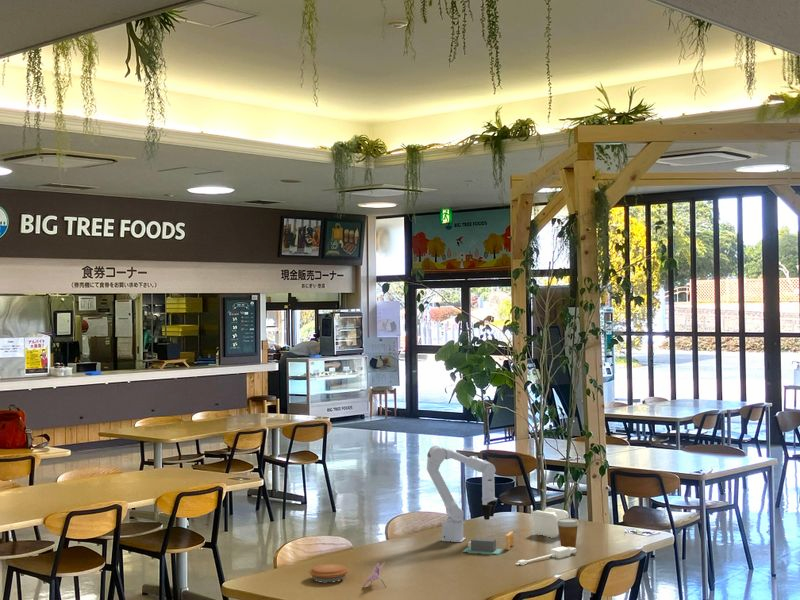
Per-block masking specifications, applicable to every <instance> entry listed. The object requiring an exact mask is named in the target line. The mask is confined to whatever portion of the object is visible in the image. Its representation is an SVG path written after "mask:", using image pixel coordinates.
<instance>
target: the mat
mask: <svg viewBox="0 0 800 600" xmlns="http://www.w3.org/2000/svg"><path fill="white" fill-rule="evenodd" d="M463 552H468V553H467V554H477V553H481V554H480V555H492V554H496V555H495V556H499V555H500V554H501V553H502V552H504V549H502V548H496V550H495V551H494V552H482V551H471V547H468V546H467V547H466V548H465V549H463V550H462V553H463Z"/></svg>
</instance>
